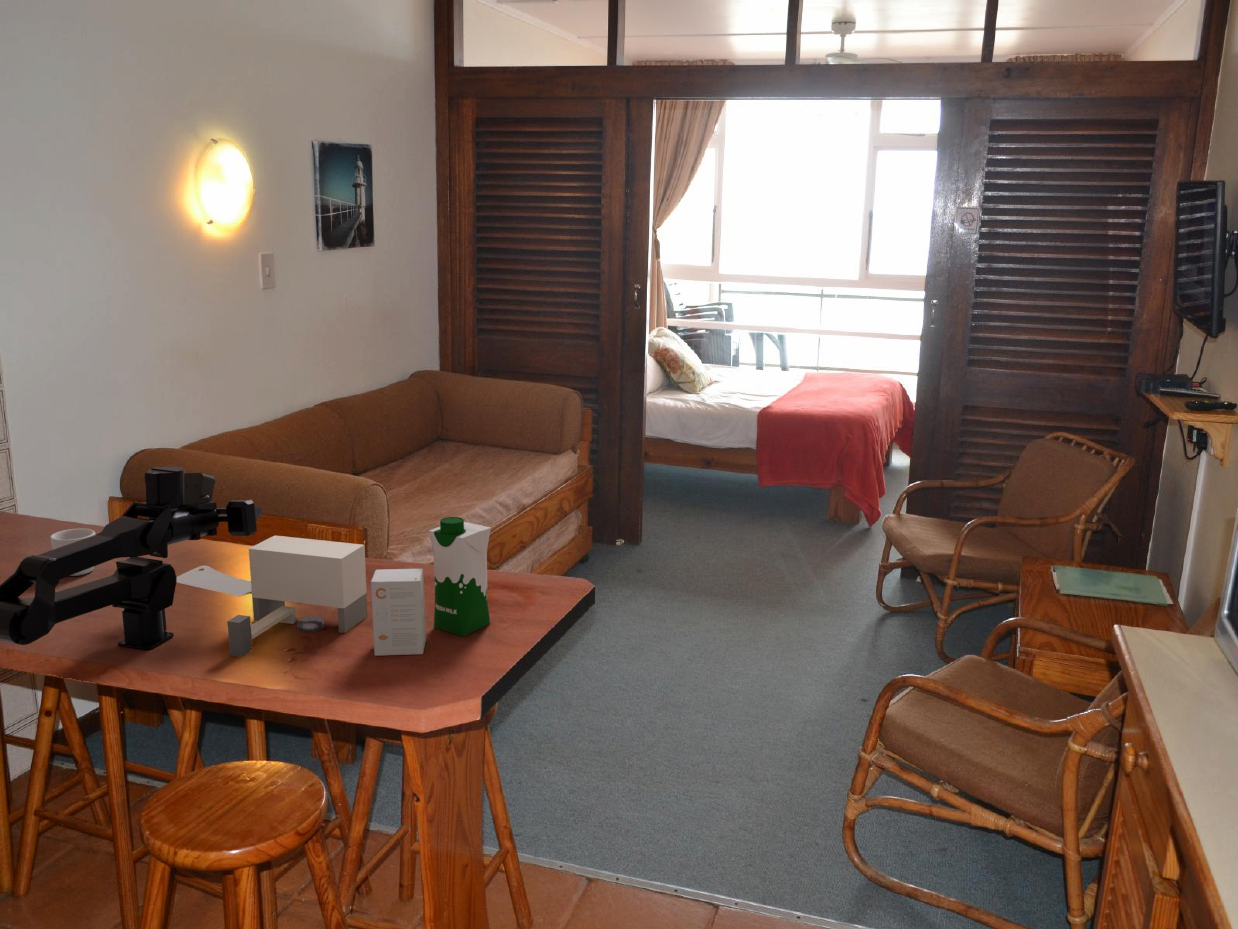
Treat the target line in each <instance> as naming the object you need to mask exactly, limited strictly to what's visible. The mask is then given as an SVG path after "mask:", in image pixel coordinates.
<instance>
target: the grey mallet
mask: <svg viewBox="0 0 1238 929" xmlns="http://www.w3.org/2000/svg"><path fill="white" fill-rule="evenodd" d="M251 622H252V621H251V616H250V615H243V614H242V615H241V614H238V615H235V616H234V617H232V618H231V619H229V620H227V621H226V623H227V624H226V625H227V633H228V634H227V636H228V648H229V656H230V657H237V658H243V657H245V656H246V655H248V654H249V653H250V652H252V651H253V639H255V638H256V637H258V636H260V635H261V634H262V633H264V632H266V631H267V630H269V629H270V628H272V627H274V626H275V625H276V624H278V623H284V624H291V625H292V624H295V623H297V619H296V607H294V606H286V605H285V606H281V607H280V608H278V609H276V610H275V611H273V612H272V613H270V614H268V615H267V616H265V617H264V618H262V619H260V620H259V621H257V622H256V621H254V623H252V624H251Z"/></svg>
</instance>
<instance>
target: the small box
mask: <svg viewBox="0 0 1238 929" xmlns="http://www.w3.org/2000/svg"><path fill="white" fill-rule="evenodd" d="M424 581H425V580H424V568H396V569H395V568H392V569H390V568H387V569H385V568H384V569H383V568H382V569H375V571H374V573H373V575H372V578H371V580H370V592H371V595H370V596H371V597H370V598H371V613H372V614H371V615H372V616H371V617H372V637H373V652H374V653H373V654H374V656H375V657H376V656H378V657H379V656H400V655H401V656H403V655H406V656H407V655H409V656H411V655H423V654H424V650H425V646H426V641H427V630H426V628H427V627H426V607H425V606H426V605H425V604H426V603H425V582H424Z"/></svg>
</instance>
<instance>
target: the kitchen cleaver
mask: <svg viewBox="0 0 1238 929" xmlns="http://www.w3.org/2000/svg"><path fill="white" fill-rule="evenodd" d="M176 577H177V582H176V584H177V583H178V584H183V585H187V586H191V587H196V588H201V589H204V590H208V591H209V590H210V591H213V592H218V593H221V592H222V593H221V594H227V595H232V596H235V597H239V598H240V597H242V596H245V595H248V594H252V589H251V580H250V581H249V580H246V579H242V578H238V577H234V576H232V575H228V574H226V573H224V572H221V571H218V570H216V569H214V568H213V567H210V566H208V565H199V566H198V567H195V568H192V569H190V570H188V571H186V572H184V573H182V574H180V575H177V576H176Z"/></svg>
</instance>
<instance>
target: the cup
mask: <svg viewBox="0 0 1238 929" xmlns="http://www.w3.org/2000/svg"><path fill="white" fill-rule="evenodd" d="M94 535H96V531H94V530H93V529H91V528H70V529H65V530H64V529H63V530H60V531H57V532H55V533H52V534H51V535H50V537H49V541H50V544H51V548H52V549H51V550H54V549H57V548H59V547H62V546H65V545H68V544H71V543H74V542H77V541H80V540H82V539H85V538H88V537H91V536H94ZM94 569H95V566H94V567H91V568H89V569H86V570H83V571H81V572H78V573H75V574H73V575H70V576H69V577H75V576H76V577H77V576H78V577H79V576H83V575H86V574H88V573H91V572H92V571H93V570H94Z"/></svg>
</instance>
